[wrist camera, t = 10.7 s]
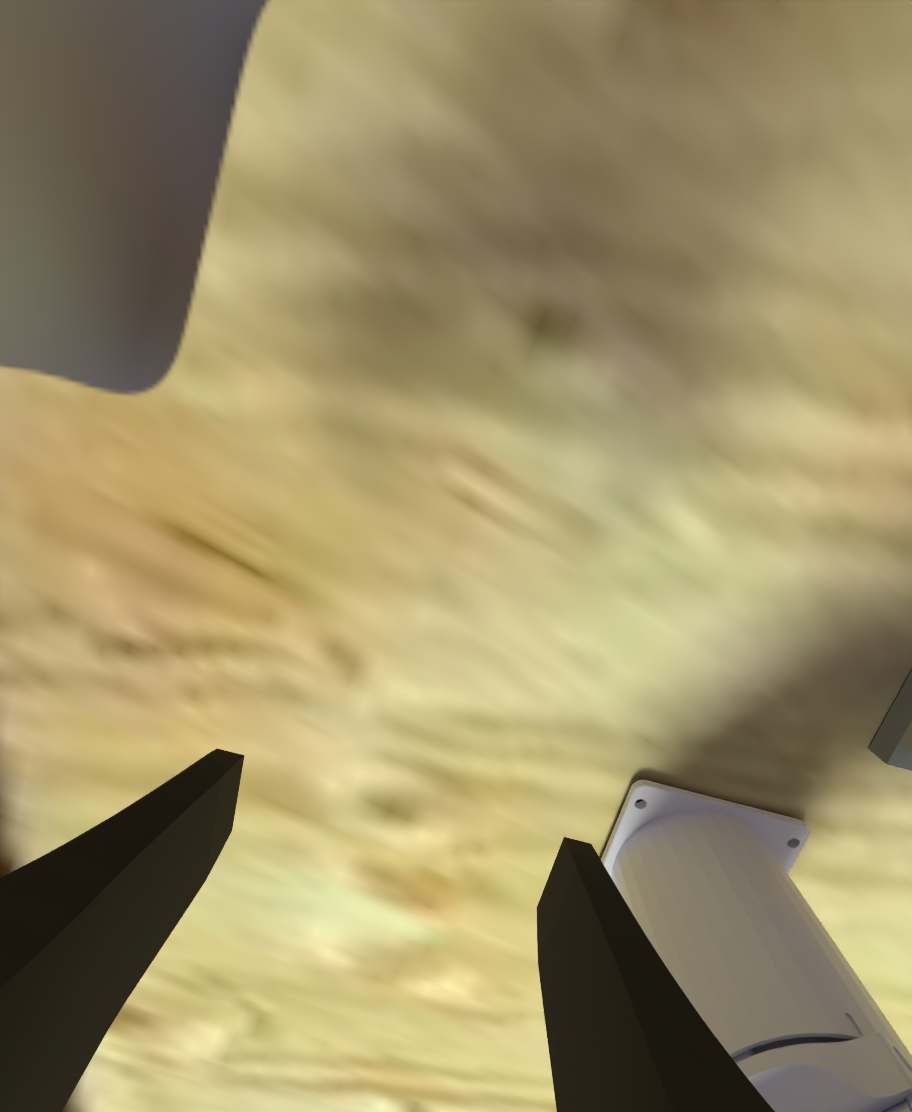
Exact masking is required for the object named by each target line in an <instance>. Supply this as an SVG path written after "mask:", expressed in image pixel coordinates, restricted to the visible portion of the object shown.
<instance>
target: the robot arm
mask: <svg viewBox="0 0 912 1112" xmlns="http://www.w3.org/2000/svg"><path fill="white" fill-rule="evenodd" d="M243 760H244V755H240V754H236V753H232V752H228V751H224V750H221V749H216V750H214V751H212V752H210V753H209V754H207V755H206V756H204V757H203V758H201V759H200V760H198V761H197V762H195V763H194V764H192V765H191V766H189V767H188V768H187V769H185V770H184V771H182V772H181V773H179V774H178V775H176V776H175V777H173V778H172V779H170V780H169V781H167V782H166V783H164V784H163V785H161V786H160V787H158V788H156V789H155V790H153V791H152V792H150V793H149V794H147V795H145V796H144V797H142V798H141V799H139V800H138V801H136V802H134V803H133V804H131V805H130V806H128V807H127V808H125V809H123V810H122V811H120V812H119V813H117V814H115V815H114V816H112V817H110V818H109V819H107V820H105V821H104V822H102V823H100V824H98V825H97V826H95V827H93V828H92V829H90V830H88V831H86V832H85V833H83V834H81V835H79V836H78V837H76V838H74V839H73V840H71V841H69V842H67V843H66V844H64V845H62V846H60V847H58V848H57V849H55V850H53V851H51V852H49V853H47V854H46V855H44V856H42V857H40V858H38V859H36V860H34V861H32V862H30V863H29V864H27V865H25V866H23V867H21V868H19V869H17V870H15V871H13V872H11V873H9V874H7V875H5V876H3V877H1V878H0V1112H62V1110H63V1108H64V1107H65V1105H66V1103H67V1101H68V1099H69V1098H70V1096H71V1094H72V1092H73V1091H74V1089H75V1087H76V1085H77V1083H78V1082H79V1080H80V1078H81V1076H82V1075H83V1073H84V1071H85V1069H86V1068H87V1066H88V1064H89V1062H90V1061H91V1059H92V1057H93V1055H94V1053H95V1052H96V1050H97V1048H98V1046H99V1045H100V1043H101V1041H102V1039H103V1038H104V1036H105V1034H106V1032H107V1031H108V1029H109V1027H110V1026H111V1024H112V1023H113V1021H114V1019H115V1018H116V1016H117V1015H118V1013H119V1011H120V1010H121V1008H122V1006H123V1005H124V1003H125V1002H126V1000H127V999H128V997H129V996H130V994H131V993H132V991H133V990H134V988H135V987H136V985H137V984H138V982H139V981H140V979H141V978H142V976H143V975H144V973H145V972H146V970H147V968H148V967H149V965H150V964H151V962H152V961H153V959H154V958H155V956H156V955H157V953H158V952H159V950H160V949H161V947H162V946H163V944H164V943H165V941H166V940H167V938H168V937H169V935H170V934H171V932H172V931H173V929H174V928H175V926H176V925H177V923H178V922H179V920H180V919H181V917H182V916H183V914H184V913H185V911H186V910H187V908H188V907H189V905H190V904H191V902H192V901H193V899H194V897H195V896H196V894H197V893H198V891H199V890H200V888H201V887H202V885H203V884H204V882H205V881H206V879H207V877H208V875H209V873H210V871H211V869H212V868H213V866H214V864H215V862H216V860H217V858H218V856H219V855H220V853H221V851H222V849H223V847H224V845H225V843H226V841H227V839H228V837H229V835H230V833H231V831H232V827H233V821H234V815H235V809H236V803H237V797H238V791H239V785H240V778H241V772H242V766H243ZM639 799H643V801H641V802H639V803H638V802H636V800H639ZM809 833H810V832H809V829H808V827H807V826H806V825H805V824H804V823H803V821H801V820H799V819H796V818H792V817H788V816H784V815H780V814H776V813H772V812H768V811H765V810H761V809H757V808H753V807H749V806H745V805H741V804H737V803H733V802H729V801H726V800H722V799H718V798H714V797H710V796H706V795H702V794H698V793H694V792H691V791H687V790H683V789H679V788H675V787H671V786H667V785H663V784H659V783H656V782H652V781H648V780H638V781H636V782H635V783H633V785H632V786H631V788H630V791H629V793H628V795H627V798H626V800H625V803H624V805H623V807H622V810H621V812H620V815H619V817H618V819H617V822H616V824H615V827H614V829H613V831H612V834H611V836H610V839H609V841H608V843H607V846H606V848H605V851H604V853H603V855H602V858H601V860H600V858H599V856H598V854H597V853H596V851H595V850H594V848H593V846H592V845H591V844H589V843H585V842H582V841H578V840H574V839H570V838H566V837H564V839H563V841H562V844H561V847H560V849H559V852H558V854H557V857H556V860H555V862H554V865H553V867H552V870H551V872H550V875H549V878H548V880H547V883H546V885H545V888H544V891H543V893H542V896H541V898H540V901H539V904H538V906H537V941H538V966H539V974H540V983H541V991H542V999H543V1007H544V1015H545V1023H546V1030H547V1038H548V1046H549V1054H550V1061H551V1069H552V1077H553V1085H554V1092H555V1100H556V1108H557V1112H912V1055H911V1054H910V1052H909V1051H908V1049H907V1048H906V1046H905V1045H904V1043H903V1042H902V1040H901V1039H900V1038H899V1036H898V1035H897V1033H896V1032H895V1030H894V1029H893V1027H892V1026H891V1024H890V1023H889V1021H888V1020H887V1019H886V1017H885V1016H884V1014H883V1013H882V1011H881V1010H880V1008H879V1007H878V1005H877V1004H876V1002H875V1001H874V1000H873V998H872V997H871V995H870V994H869V992H868V991H867V989H866V988H865V986H864V985H863V983H862V982H861V981H860V979H859V978H858V976H857V975H856V973H855V972H854V970H853V969H852V967H851V966H850V964H849V963H848V961H847V960H846V959H845V957H844V956H843V954H842V953H841V951H840V950H839V948H838V947H837V945H836V944H835V942H834V941H833V940H832V938H831V937H830V935H829V934H828V932H827V931H826V929H825V928H824V926H823V925H822V923H821V922H820V921H819V919H818V918H817V916H816V915H815V913H814V912H813V910H812V909H811V907H810V906H809V904H808V903H807V902H806V900H805V899H804V897H803V896H802V894H801V893H800V891H799V890H798V888H797V887H796V885H795V884H794V883H793V881H792V880H791V878H790V877H789V875H788V873H789V871H790V869H791V867H792V866H793V864H794V862H795V860H796V858H797V856H798V855H799V853H800V851H801V849H802V847H803V846H804V844H805V842H806V840H807V838H808V836H809ZM790 839H792V840H790ZM789 840H790V841H789Z"/></svg>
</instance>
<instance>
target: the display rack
mask: <svg viewBox="0 0 912 1112" xmlns="http://www.w3.org/2000/svg"><path fill="white" fill-rule="evenodd" d="M868 749H869V750H870V751H872V752H873V753H874V754H875V755H876V756H878V757H879V758H880V759H881V760H882V761H884V762H885V763H886V764H888V765H892V766H896V767H900V768H904V769H908V770H912V671H911V672H910V674H909V676H908V678H907V680H906V681H905V683H904V685H903V687H902V689H901V690H900V692H899V694H898V696H897V698H896V699H895V701H894V703H893V705H892V707H891V708H890V710H889V712H888V714H887V716H886V718H885V719H884V721H883V723H882V725H881V727H880V728H879V730H878V732H877V734H876V736H875V737H874V739H873V741H872V743H871V745H870V746H869V748H868Z"/></svg>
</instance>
